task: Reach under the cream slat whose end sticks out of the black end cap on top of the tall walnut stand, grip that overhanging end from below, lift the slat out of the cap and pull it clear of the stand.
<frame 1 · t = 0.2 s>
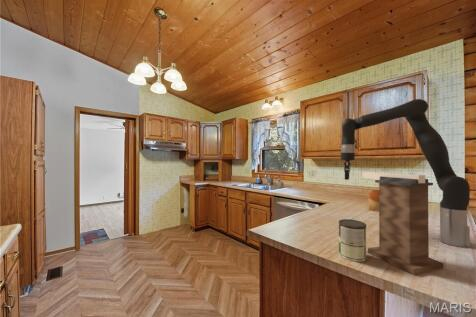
hand: (346, 179, 123), 29 cm above the counter, tool pointing down, fingers open, 8 cm apart
coffee can: (352, 256, 86), on the counter
bread: (377, 209, 174), on the counter
slat: (390, 180, 88), point 32 cm above the counter, touching stand
stand: (402, 260, 83), on the counter
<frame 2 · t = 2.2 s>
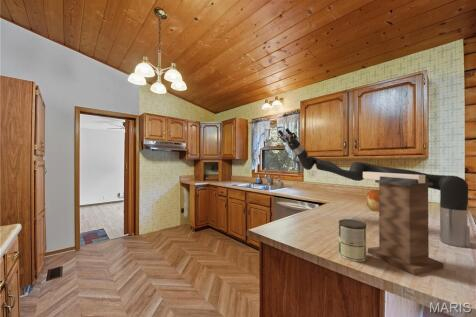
hand: (282, 129, 140), 62 cm above the counter, tool pointing upward, fingers open, 8 cm apart
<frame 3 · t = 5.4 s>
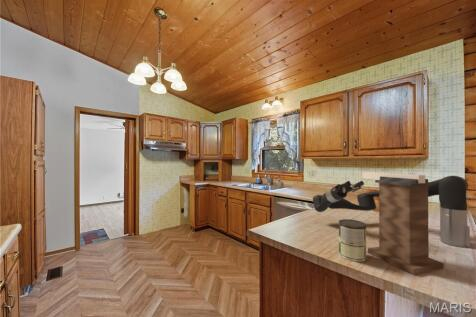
hand: (356, 182, 104), 29 cm above the counter, tool pointing upward, fingers open, 8 cm apart
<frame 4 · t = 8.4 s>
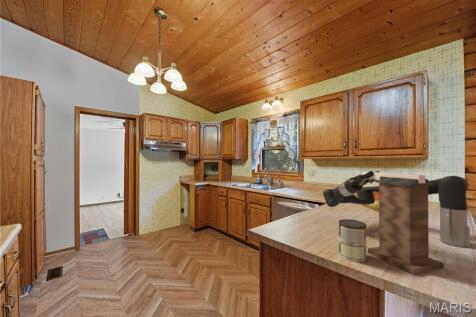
hand: (375, 172, 94), 35 cm above the counter, tool pointing upward, fingers closed on slat, 3 cm apart
slat: (390, 180, 88), point 32 cm above the counter, touching gripper, stand
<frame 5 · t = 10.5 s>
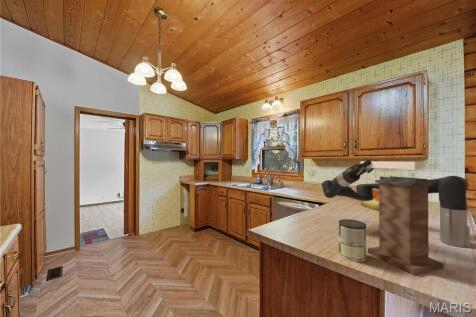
hand: (373, 161, 95), 40 cm above the counter, tool pointing upward, fingers closed on slat, 3 cm apart
slat: (387, 168, 89), point 37 cm above the counter, touching gripper
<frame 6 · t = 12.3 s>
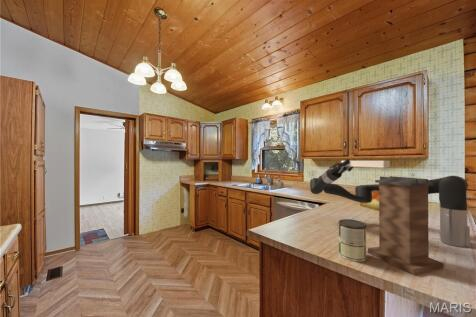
hand: (351, 160, 107), 40 cm above the counter, tool pointing upward, fingers closed on slat, 3 cm apart
slat: (362, 166, 100), point 37 cm above the counter, touching gripper
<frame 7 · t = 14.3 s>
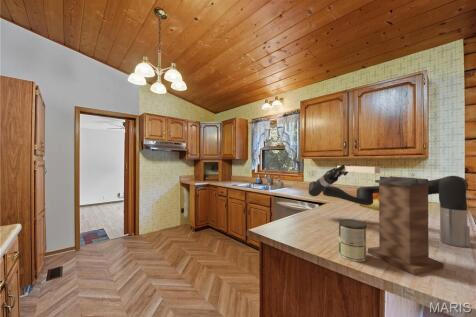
hand: (346, 166, 116), 37 cm above the counter, tool pointing upward, fingers closed on slat, 3 cm apart
slat: (356, 171, 110), point 34 cm above the counter, touching gripper
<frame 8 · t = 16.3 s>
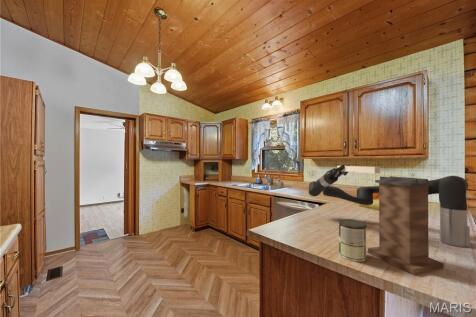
hand: (346, 166, 116), 37 cm above the counter, tool pointing upward, fingers closed on slat, 3 cm apart
slat: (356, 171, 110), point 34 cm above the counter, touching gripper
at the end: the gripper is holding slat; slat touching gripper; slat moved 21.9 cm from its start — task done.
